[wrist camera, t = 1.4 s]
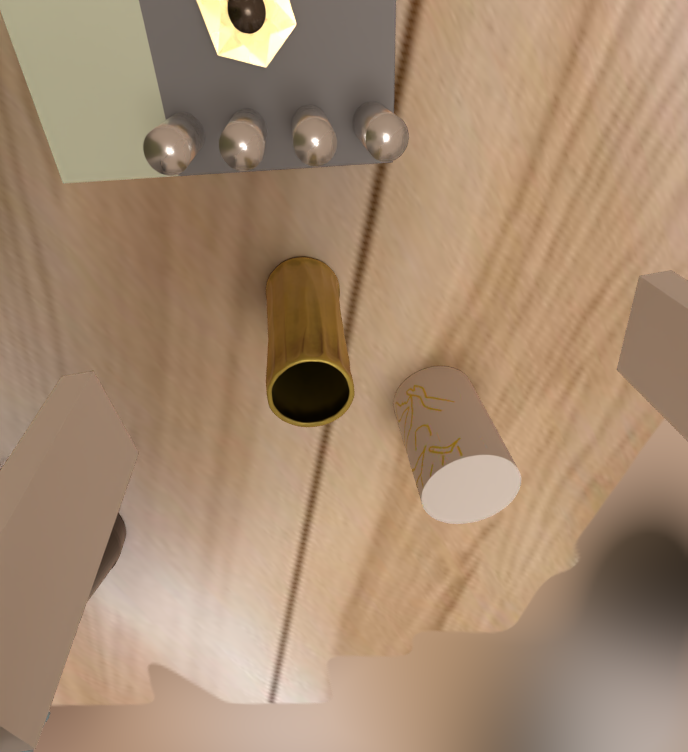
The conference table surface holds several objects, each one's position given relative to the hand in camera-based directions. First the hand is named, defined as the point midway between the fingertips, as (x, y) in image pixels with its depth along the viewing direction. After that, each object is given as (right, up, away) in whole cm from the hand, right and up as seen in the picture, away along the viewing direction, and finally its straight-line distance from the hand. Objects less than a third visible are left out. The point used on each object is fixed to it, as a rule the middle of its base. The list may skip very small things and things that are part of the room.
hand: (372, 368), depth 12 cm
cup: (+8, -2, +36) cm, 37 cm away
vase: (-4, +7, +28) cm, 29 cm away
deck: (-9, +21, +17) cm, 29 cm away
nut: (-6, +21, +16) cm, 27 cm away
